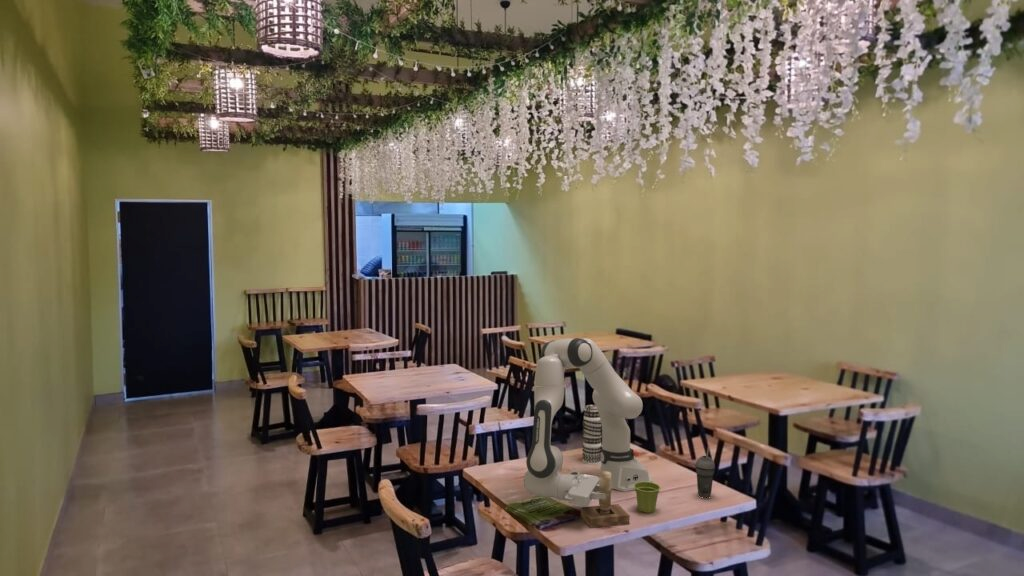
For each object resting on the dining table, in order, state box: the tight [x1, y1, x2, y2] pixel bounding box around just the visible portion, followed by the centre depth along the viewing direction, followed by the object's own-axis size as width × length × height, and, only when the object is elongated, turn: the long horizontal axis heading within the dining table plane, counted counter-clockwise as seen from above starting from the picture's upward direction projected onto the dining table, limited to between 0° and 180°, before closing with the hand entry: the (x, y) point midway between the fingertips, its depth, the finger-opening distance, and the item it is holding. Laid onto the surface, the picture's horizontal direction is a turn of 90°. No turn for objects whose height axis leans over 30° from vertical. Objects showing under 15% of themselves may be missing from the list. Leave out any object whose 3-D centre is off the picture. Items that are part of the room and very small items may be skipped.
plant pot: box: [634, 482, 661, 514], centre depth 229 cm, size 9×9×9 cm
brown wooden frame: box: [580, 503, 631, 529], centre depth 221 cm, size 14×10×3 cm
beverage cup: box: [694, 445, 716, 499], centre depth 242 cm, size 7×7×20 cm
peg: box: [598, 471, 612, 515], centre depth 220 cm, size 4×4×16 cm
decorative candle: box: [581, 404, 602, 465], centre depth 281 cm, size 9×9×25 cm
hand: (607, 493), depth 220 cm, fingers closed on peg, 4 cm apart
